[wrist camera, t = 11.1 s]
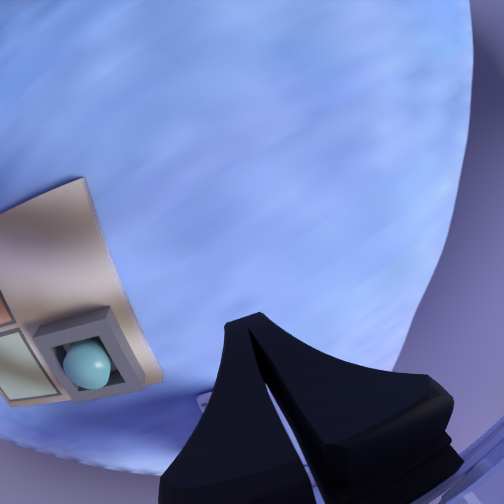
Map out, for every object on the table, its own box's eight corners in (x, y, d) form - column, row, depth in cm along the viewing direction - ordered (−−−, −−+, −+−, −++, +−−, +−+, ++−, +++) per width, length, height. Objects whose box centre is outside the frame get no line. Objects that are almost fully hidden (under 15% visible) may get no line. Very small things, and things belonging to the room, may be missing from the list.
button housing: (145, 374, 20) (144, 389, 19) (78, 388, 19) (74, 402, 18) (110, 305, 18) (105, 318, 16) (39, 325, 17) (31, 338, 16)
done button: (120, 366, 19) (117, 384, 17) (83, 374, 19) (78, 392, 17) (100, 330, 18) (94, 347, 16) (62, 339, 18) (54, 356, 16)
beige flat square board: (163, 372, 22) (163, 382, 21) (14, 400, 19) (10, 407, 18) (84, 177, 16) (79, 178, 15) (-67, 252, 14) (-74, 257, 13)
